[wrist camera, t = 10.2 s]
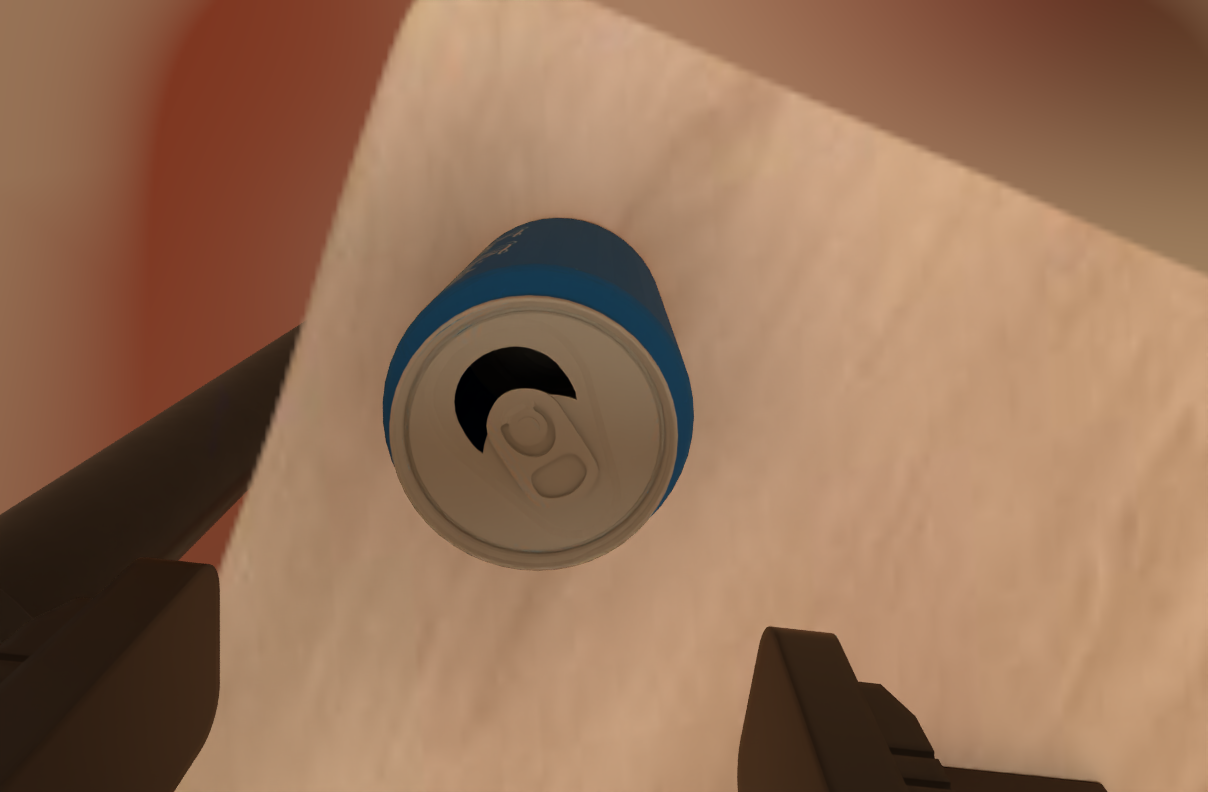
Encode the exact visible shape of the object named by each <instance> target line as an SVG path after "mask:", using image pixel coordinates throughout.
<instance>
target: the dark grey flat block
mask: <svg viewBox="0 0 1208 792" xmlns="http://www.w3.org/2000/svg"><path fill="white" fill-rule="evenodd" d="M943 769H944V771H945V773H946V774H947V776H948V778H949V780H950V782H951V784H950V787H951V790H955V791H956V792H1107V790H1106V789H1105V788H1104V786H1103V785H1102V784H1098V783H1088V782H1079V781H1069V780H1059V779H1050V778H1040V777H1030V776H1021V775H1011V774H1001V773H992V772H982V771H972V770H963V769H953V768H943Z"/></svg>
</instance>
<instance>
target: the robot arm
mask: <svg viewBox="0 0 1208 792" xmlns="http://www.w3.org/2000/svg"><path fill="white" fill-rule="evenodd" d="M219 689H220V586H219V577H218V573H217V571H216V569H215V567H214V566H213V565H210V564H201V563H192V562H183V561H174V560H165V559H156V558H146V557H141V558H138V559H136V560H135V561H134V562H132V563H131V564H130V565H129V566H128V567H127V568H126V569H125V570H123V571H122V572H121V573H120V574H119V575H118V576H117V577H116V578H115V579H114V580H112V581H111V582H110V583H109V584H108V585H107V586H106V587H105V588H104V589H103V590H102V591H100V592H99V593H98V594H97V595H96V596H95V597H94V598H93V599H92V598H83V597H78V598H75V599H73V600H71V601H69V602H67V603H65V604H63V605H61V606H59V607H56V608H54V609H52V610H50V611H48V612H46V613H44V614H42V615H39V616H37V617H35V618H33V619H31V620H29V621H27V622H26V623H25V624H24V625H23V626H21V627H20V628H19V629H18V630H17V631H16V632H14V633H13V634H12V635H11V636H10V637H9V638H7V639H6V640H5V641H4V642H3V643H1V644H0V792H174V791H175V789H176V788H177V786H178V785H179V783H180V781H181V780H182V778H183V777H184V775H185V774H186V772H187V771H188V769H189V768H190V766H191V764H192V763H193V761H194V760H195V758H196V757H197V755H198V754H199V752H200V751H201V749H202V747H203V746H204V744H205V742H206V740H207V738H208V735H209V733H210V730H211V727H212V724H213V721H214V718H215V714H216V710H217V705H218V699H219ZM737 780H738V792H956V791H955V790H951V787H950V784H951V782H950V780H949V778H948V776H947V774H946V773H945V771H944V769H943V767H942V765H941V763H940V761H939V759H935V758H934V750H933V748H932V746H931V745H930V743H929V741H928V739H927V737H926V735H925V733H924V732H923V730H922V728H921V726H920V724H919V722H918V720H917V718H916V717H915V715H913V714H912V713H911V712H910V711H909V710H908V709H907V708H906V707H905V706H904V705H903V704H902V703H900V702H899V701H898V700H897V699H896V698H895V697H894V696H893V695H892V694H891V693H890V692H888V691H887V690H886V689H885V688H884V687H883V686H882V685H881V684H874V683H865V682H858V681H857V679H856V676H855V674H854V672H853V670H852V668H851V666H850V663H849V661H848V659H847V657H846V655H845V653H844V651H843V648H842V646H841V644H840V642H839V640H838V638H837V637H836V636H835V635H834V634H832V633H825V632H815V631H806V630H797V629H788V628H779V627H767V628H766V629H765V630H764V632H763V635H762V637H761V640H760V644H759V649H758V654H757V659H756V664H755V669H754V674H753V679H752V684H751V689H750V694H749V699H748V704H747V710H746V715H745V720H744V725H743V730H742V735H741V740H740V746H739V754H738V772H737Z"/></svg>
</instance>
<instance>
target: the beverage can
mask: <svg viewBox="0 0 1208 792" xmlns="http://www.w3.org/2000/svg"><path fill="white" fill-rule="evenodd" d="M693 421H694V410H693V396H692V391H691V385H690V380H689V376H688V373H687V371H686V368H685V365H684V362H683V359H682V356H681V353H680V350H679V347H678V345H677V342H676V339H675V336H674V333H673V331H672V328H671V325H670V322H669V319H668V316H667V314H666V311H665V308H664V305H663V302H662V299H661V297H660V294H659V291H658V288H657V285H656V282H655V280H654V278H653V276H652V274H651V272H650V270H649V269H648V267H647V266H646V264H645V263H644V261H643V260H642V258H641V257H640V256H639V255H638V254H637V253H636V252H635V250H634V249H633V248H632V247H631V246H629V245H628V244H627V243H626V242H625V241H624V240H622V239H621V238H620V237H618V236H617V235H615V234H613V233H612V232H610V231H608V230H606V229H604V228H602V227H600V226H598V225H595V224H592V223H589V222H586V221H581V220H576V219H568V218H550V219H541V220H537V221H532V222H528V223H526V224H523V225H520V226H518V227H515V228H514V229H512V230H510V231H508V232H506V233H504V234H503V235H501V236H500V237H499V238H497V239H496V240H494V241H493V242H492V243H491V244H490V245H489V246H488V247H487V248H486V249H485V250H484V251H483V252H482V253H481V254H479V255H478V256H477V257H476V258H475V259H474V260H473V261H472V262H471V263H470V264H469V265H468V266H467V267H466V268H465V269H464V270H463V271H462V272H461V273H460V274H459V275H458V276H457V277H456V278H455V279H454V280H453V281H452V282H451V283H450V284H449V285H448V286H447V287H446V288H445V289H444V290H443V291H442V292H441V293H440V294H439V295H438V296H437V297H436V298H435V299H434V300H433V301H432V302H431V303H430V304H429V305H428V306H427V307H426V308H425V309H423V310H422V311H421V312H420V314H419V315H418V316H417V317H416V319H415V320H414V321H413V322H412V324H411V325H410V326H409V327H408V329H407V330H406V332H405V334H404V336H403V337H402V339H401V341H400V342H399V344H398V346H397V348H396V350H395V353H394V355H393V358H392V360H391V362H390V366H389V369H388V373H387V377H386V381H385V387H384V396H383V425H384V431H385V438H386V443H387V446H388V450H389V453H390V456H391V460H392V462H393V464H394V467H395V469H396V473H397V476H398V478H399V481H400V483H401V485H402V487H403V489H404V492H405V494H406V495H407V497H408V498H409V500H410V502H411V503H412V505H413V506H414V508H415V509H416V511H417V512H418V513H419V514H420V515H421V517H422V518H423V519H424V520H425V522H426V523H427V524H428V525H429V526H430V527H431V528H433V529H434V530H435V531H436V532H437V533H438V534H439V535H440V536H441V537H443V538H444V539H445V540H447V541H448V542H449V543H451V544H452V545H453V546H455V547H457V548H459V549H460V550H462V551H464V552H466V553H467V554H469V555H471V556H474V557H476V558H478V559H481V560H483V561H485V562H489V563H492V564H496V565H499V566H502V567H508V568H514V569H520V570H536V571H541V570H555V569H562V568H567V567H572V566H576V565H579V564H582V563H586V562H589V561H592V560H594V559H596V558H598V557H600V556H602V555H605V554H607V553H609V552H610V551H612V550H613V549H615V548H617V547H618V546H620V545H621V544H623V543H624V542H625V541H627V540H628V539H629V538H630V537H631V536H633V535H634V534H635V533H636V532H637V531H638V530H639V529H640V528H641V527H642V526H643V525H644V524H645V523H646V522H647V521H648V519H649V518H650V517H651V516H652V515H653V514H654V513H655V512H656V511H657V510H658V509H659V507H660V506H661V505H662V504H663V502H664V501H665V500H666V498H667V497H668V495H669V494H670V493H671V491H672V489H673V488H674V486H675V484H676V482H677V480H678V478H679V476H680V474H681V472H682V470H683V467H684V464H685V462H686V459H687V456H688V453H689V448H690V444H691V439H692V433H693Z"/></svg>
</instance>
